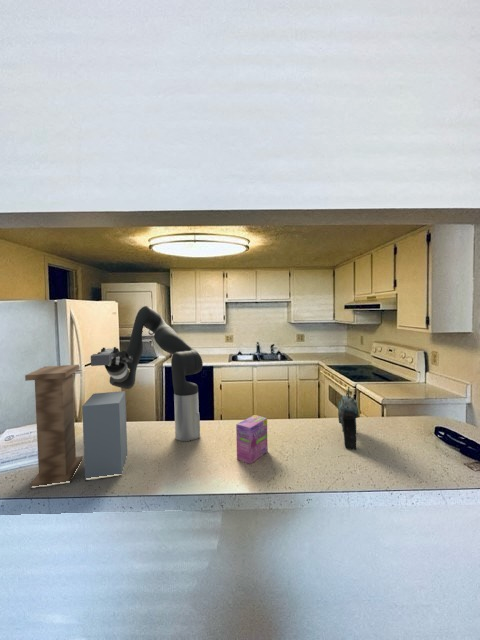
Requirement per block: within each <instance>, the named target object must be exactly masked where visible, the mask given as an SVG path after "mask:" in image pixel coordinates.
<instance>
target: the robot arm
mask: <svg viewBox="0 0 480 640" xmlns="http://www.w3.org/2000/svg"><path fill="white" fill-rule="evenodd" d="M144 327H145V328H146V329H147V330H149V331H150V332H152V333H153V336H154V340H155V343H156V344H157V345H158V346H159V348H160V349H161V350H162V351H165V352H166V353H169V354H171V365H170V366H171V375H172V376H171V377H172V387H173V401H174V403H173V404H174V429H175V430H174V436H175V437H174V438H175V439H176V441H179V440H180V441H179V442H190V440H191V441H195V440H196V439H200V438H201V421H200V412H199V407H200V406H199V403H200V402H199V385H198V384H197V383H194V382H191V381H187V380H186V376H191V375H196V374H198V373H200V372H201V371H202V369H203V363H204V362H203V359H202V356H201V355H200V354H199V352H198V351H197V350H196V349H195V348H193V347H192V346H191V345H190V344H188V343H187V342H186V341H185V340H184V339H182V337H181V336H179V334H178V333H177V332H176V331H175V329H173V327H171V326H170V325H168V324H167V323H166V321H165V320H164V317H162V315H161V314H160V313H159V312H157V311H156V310H154V309H153V308H151V307H150V306H148V305H144V306H142V307H141V308H140V309H139V310H138V312H137V314H136V316H135V318H134V323H133V327H132V330H131V335H130V339H129V342H128V345H127V348H126V350H122V351H121V350H120V349H119V348H117V346H114V347H113V348H114V355H115V357H114V358H113V359H112V363H111V364H110V365H103V366H104V368H105V371H106V372H107V373H108V375H109V384H110V385H112V386H114V387H117V388H120V389H124V390H130V389H132V388H133V387H134V386H135V384H136V383H135V382H136V374H137V368H138V365H139V362H140V360H141V357H142V355H143V351H144V348H143V347H144V345H143V329H144ZM106 349H107V348H106V347H102V348H101V349H100V351H98V352H97V353H96V354H100V353H102V352H103V351H105V350H106Z"/></svg>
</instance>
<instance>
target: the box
mask: <svg viewBox="0 0 480 640" xmlns="http://www.w3.org/2000/svg"><path fill="white" fill-rule="evenodd" d="M235 427H236V428H235V429H236V432H235V433H236V459H237V460H239V461H240V460H241V461H240V462H243V461H244V462H243V463H246V464H248V465H251V464H253V462H255V461H256V460H258V459H259V458H261V457H262V456H263V455H265V454H266V453H267V452H268V418H267V417H264V416H260V415H257V414H253V415H252V416H249V417H247V418H246V419H244V420H242V421H240V422H237V423H236V426H235Z"/></svg>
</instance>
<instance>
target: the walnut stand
mask: <svg viewBox="0 0 480 640" xmlns="http://www.w3.org/2000/svg"><path fill="white" fill-rule="evenodd" d="M79 370H80V364H69V365H68V364H66V365H64V364H63V365H52V366H51V365H50V366H49V365H48V366H43V367H40V368H38V369H36V370H34V371H31V372H29V373H27V374H24V378H25V382H26V381H28V382H29V381H34V396H35V398H34V399H35V417H36V437H37V438H36V439H37V442H36V443H37V444H36V445H37V461H38V462H37V464H38V467H37V468H38V473H37V474H36V476H35V477H34V478H33V480H32V481H31V482H30V483H29V488H30V487H32V486H39V485H47V484H52V483H60V482H66V481H70V480H71V478H72V477H73V475H74V473H75V471H76V469H77V468H78V466H79V464H80V462H81V461H82V459H83V460H84V455H81V456H77V455H76V453H77V452H76V433H75V432H76V431H75V430H76V429H75V427H76V426H75V407H74V403H75V402H74V382H73V381H74V380H73V374H74V373H76V372H77V371H79ZM82 462H83V461H82ZM79 467H80V466H79ZM78 469H79V468H78ZM75 474H76V473H75ZM74 476H75V475H74ZM73 478H74V477H73Z"/></svg>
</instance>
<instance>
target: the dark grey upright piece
mask: <svg viewBox="0 0 480 640" xmlns="http://www.w3.org/2000/svg"><path fill="white" fill-rule="evenodd" d="M355 398H356V397H355V395H353V396H350V386H348V387H347V392H346V395H342V396H341V400H340V401H338V410H337V412H338V413H337V415H338V416H337V417H338V422H339V424H340V425H341V429H342V432H343V442H344V448H345V449H346V450H357V418H359V408H358V402H357V399H355Z"/></svg>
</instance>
